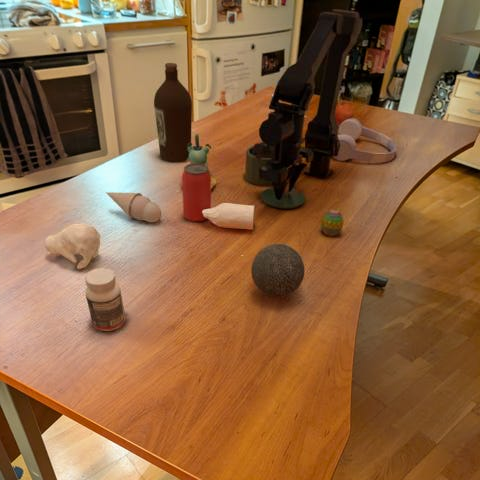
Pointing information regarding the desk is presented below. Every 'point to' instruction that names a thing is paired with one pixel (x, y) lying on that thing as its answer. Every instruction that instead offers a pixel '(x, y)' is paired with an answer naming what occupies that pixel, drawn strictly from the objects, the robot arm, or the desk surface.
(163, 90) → the olive oil
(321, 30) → the robot arm
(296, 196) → the bin lid
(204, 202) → the beer can
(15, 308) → the desk surface
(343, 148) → the headphones
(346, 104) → the tomato
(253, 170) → the bin
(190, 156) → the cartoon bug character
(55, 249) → the beige rounded piece
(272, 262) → the decorative ball
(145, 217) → the ice cream cone
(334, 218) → the egg
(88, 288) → the pill bottle
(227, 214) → the white bottle
